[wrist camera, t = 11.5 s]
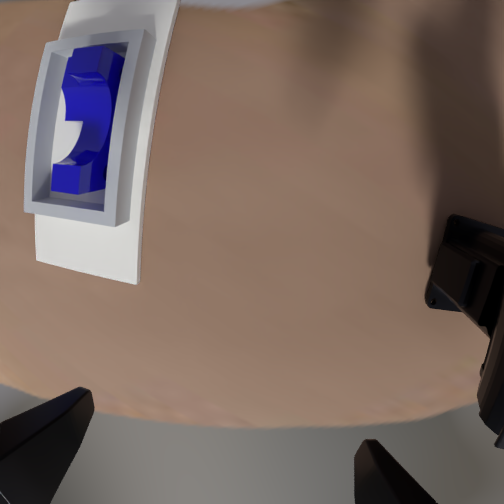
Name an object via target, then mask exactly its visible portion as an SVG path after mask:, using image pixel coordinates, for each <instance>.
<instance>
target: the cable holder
mask: <svg viewBox="0 0 504 504" xmlns="http://www.w3.org/2000/svg"><path fill="white" fill-rule="evenodd" d="M124 61H125V58H124V57H122V56H120V55H119V54H117V53H115V52H114V51H112V50H110V49H109V48H107V47H105V46H103V45H102V46H92V47H83V48H75V49H74V50H73V53H72V57H68V61H67V65H66V69H65V73H64V77H63V82H62V86H61V89H62V91H63V94H64V98H65V106H66V113H65V121H69V122H77V123H83V124H82V128H81V132H80V135H79V138H78V140H77V142H76V144H75V146H74V148H73V149H72V151H71V152H70V153H69V155H68V156H67V157H66V158H64V159H63V160H62V161H60V162H58V163H54V164H53V168H52V181H51V191H55V192H62V193H69V194H75V195H80V194H85V193H89V192H94V191H98V190H103V189H106V177H107V167H108V157H109V149H110V141H111V133H112V126H113V119H114V113H115V107H116V101H117V96H118V90H119V85H120V80H121V75H122V70H123V66H124Z"/></svg>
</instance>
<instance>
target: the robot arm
mask: <svg viewBox="0 0 504 504" xmlns="http://www.w3.org/2000/svg"><path fill="white" fill-rule="evenodd" d="M454 220H457V223H456V225H454ZM433 298H434V301H433V302H432V303H431V300H432V299H433ZM425 302H426V304H427V306H428V307H429V308H433V309H441V310H448V311H456V312H463V313H464V314H465V315H466V316H467V317H468V318H469V319H470V320H471V321H472V322H473V323H475V324H476V325H477V326H478V327H479V328H480V329H481V330H482V331H483V332H484V333H485V334H486V335H487V336H488V337H489V338H490V342H489V346H488V350H487V354H486V357H485V361H484V363H483V364H482V366H481V369H480V376H481V380H480V383H479V387H478V392H477V398H478V403H479V407H480V412H479V416H480V417H481V419H482V420H483V422H484V423H485V425H486V426H488V427H489V428H490V429H491V430H492V431H493V432H494V433H496V434H497V435H499V436H498V438H497V439H496V441H495V443H494V445H495V447H497V448H501V449H504V229H501V228H498V227H495V226H492V225H489V224H486V223H482V222H479V221H476V220H473V219H469V218H466V217H463V216H459V215H456V214H453V215H451V216H450V217H449V219H448V222H447V227H446V231H445V235H444V239H443V243H442V244H441V246H440V249H439V253H438V257H437V260H436V264H435V267H434V270H433V274H432V277H431V284H430V287H429V290H428V293H427V296H426V299H425ZM93 413H94V402H93V397H92V392H91V391H90V390H89V389H86V388H83V387H77V388H75V389H73V390H71V391H69V392H67V393H65V394H62V395H60V396H58V397H56V398H54V399H52V400H50V401H47V402H45V403H43V404H41V405H39V406H37V407H34V408H32V409H30V410H28V411H25V412H24V413H21V414H19V415H17V416H14V417H12V418H10V419H7V420H5V421H3V422H1V423H0V504H50V503H51V501H52V499H53V497H54V495H55V493H56V491H57V489H58V487H59V485H60V483H61V481H62V479H63V477H64V476H65V474H66V472H67V470H68V468H69V466H70V464H71V463H72V461H73V459H74V457H75V455H76V453H77V452H78V449H79V448H80V445H81V443H82V441H83V438H84V436H85V433H86V431H87V428H88V426H89V423H90V420H91V418H92V416H93ZM354 496H355V504H438V503H436V501H435V500H434V499H433V498H432V497H431V496H430V495H429V494H428V493H427V492H426V491H425V490H424V489H423V488H422V487H421V486H420V485H419V484H418V483H417V481H416V480H415V479H414V478H413V477H412V476H411V475H410V474H409V473H408V472H407V471H406V470H405V469H404V468H403V467H402V466H401V465H400V464H399V463H398V462H397V461H396V460H395V459H394V457H393V456H392V455H391V454H390V453H389V452H388V451H387V450H386V449H385V448H384V447H383V446H382V445H381V444H380V443H379V442H378V441H377V440H376V439H365V440H364V441H363V442H362V444H361V445H360V447H359V449H358V450H357V452H356V454H355V457H354Z"/></svg>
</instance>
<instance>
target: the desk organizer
mask: <svg viewBox="0 0 504 504" xmlns="http://www.w3.org/2000/svg"><path fill="white" fill-rule="evenodd" d="M180 2H181V0H79V1H75V2H70V4H69V7H68V10H67V13H66V16H65V19H64V22H63V26H62V29H61V32H60V36H59V39H58V40H57V41H52V42H48V43H46V45H45V49H44V53H43V57H42V61H41V65H40V69H39V74H38V78H37V83H36V88H35V93H34V99H33V105H32V111H31V118H30V125H29V133H28V142H27V152H26V165H25V183H24V212H27V213H33V214H35V242H36V260H37V261H41V262H44V263H48V264H52V265H56V266H60V267H64V268H67V269H71V270H75V271H79V272H83V273H88V274H92V275H96V276H100V277H104V278H109V279H113V280H117V281H122V282H126V283H130V284H135V285H137V284H138V283H139V282H140V270H141V248H142V231H143V218H144V206H145V195H146V185H147V176H148V167H149V159H150V151H151V144H152V137H153V130H154V123H155V117H156V111H157V105H158V99H159V94H160V88H161V83H162V78H163V73H164V68H165V63H166V59H167V54H168V49H169V45H170V41H171V37H172V32H173V28H174V24H175V20H176V17H177V13H178V9H179V5H180ZM102 45H103V46H105V47H107V48H109V49H110V50H112V51H114V52H115V53H117V54H119V55H120V56H122V57H124V58H125V61H124V66H123V70H122V75H121V80H120V85H119V90H118V96H117V101H116V107H115V113H114V119H113V126H112V133H111V141H110V149H109V157H108V167H107V177H106V189H103V190H98V191H94V192H89V193H85V194H80V195H75V194H69V193H62V192H55V191H51V181H52V168H53V164H54V163H58V162H60V161H62V160H63V159H64V158H66V157H67V156H68V155H69V153H70V152H71V151H72V149H73V148H74V146H75V144H76V142H77V140H78V138H79V135H80V132H81V128H82V124H83V123H77V122H69V121H65V113H66V106H65V98H64V94H63V91H62V89H61V86H62V82H63V77H64V73H65V69H66V65H67V61H68V57H72V53H73V50H74V49H75V48H83V47H92V46H102Z"/></svg>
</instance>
